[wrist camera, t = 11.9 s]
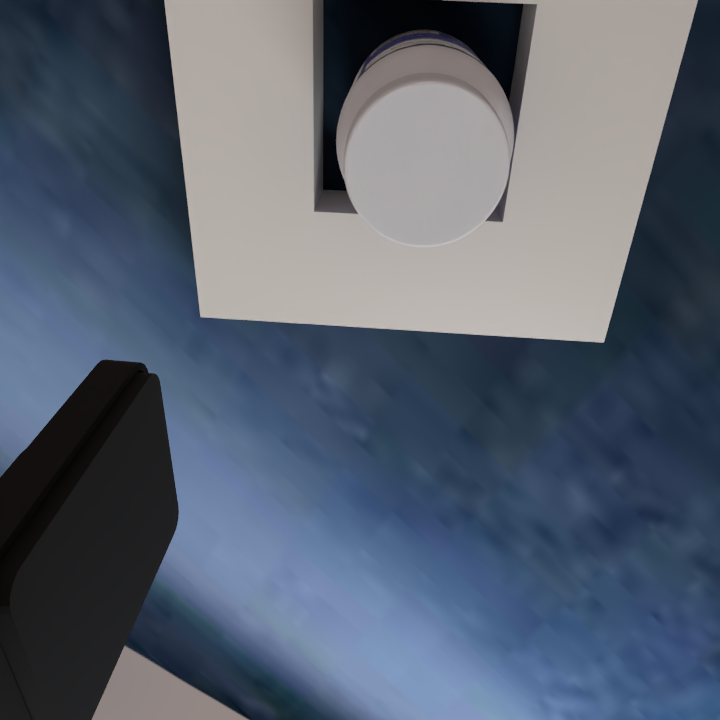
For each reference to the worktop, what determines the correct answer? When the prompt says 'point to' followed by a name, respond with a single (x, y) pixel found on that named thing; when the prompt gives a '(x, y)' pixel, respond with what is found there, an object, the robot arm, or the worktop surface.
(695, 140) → the worktop surface
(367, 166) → the pill bottle
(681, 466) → the worktop surface
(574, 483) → the worktop surface
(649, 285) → the worktop surface
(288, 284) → the socket block
